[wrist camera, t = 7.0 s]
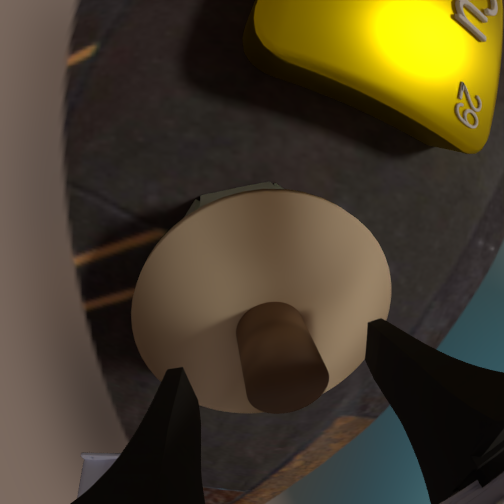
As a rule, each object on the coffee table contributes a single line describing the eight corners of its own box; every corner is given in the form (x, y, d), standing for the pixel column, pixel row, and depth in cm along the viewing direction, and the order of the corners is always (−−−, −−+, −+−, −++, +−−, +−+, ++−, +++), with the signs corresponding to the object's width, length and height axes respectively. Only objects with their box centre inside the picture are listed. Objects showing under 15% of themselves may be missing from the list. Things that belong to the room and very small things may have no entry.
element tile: (298, -98, 9) (319, -134, 5) (468, -2, 13) (509, -11, 8) (231, 66, 14) (241, 43, 10) (440, 154, 18) (489, 168, 13)
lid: (181, 417, 16) (182, 477, 12) (95, 227, 11) (51, 277, 7) (375, 369, 17) (406, 420, 13) (382, 167, 12) (449, 191, 8)
